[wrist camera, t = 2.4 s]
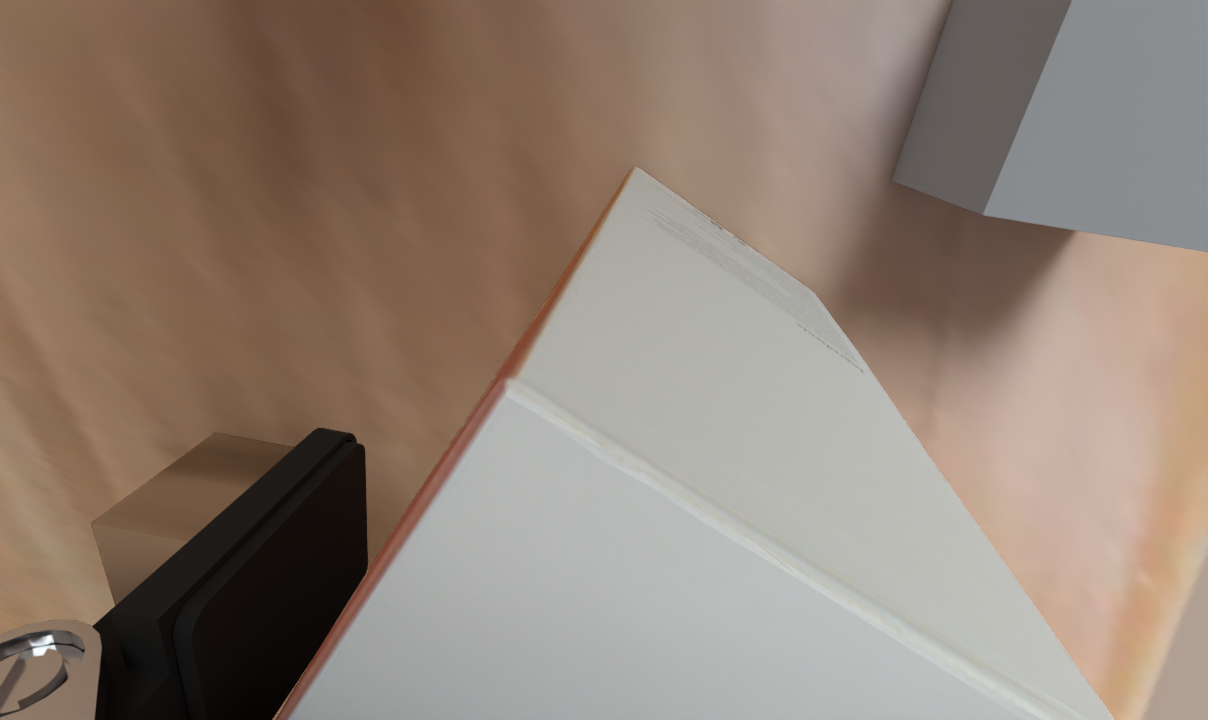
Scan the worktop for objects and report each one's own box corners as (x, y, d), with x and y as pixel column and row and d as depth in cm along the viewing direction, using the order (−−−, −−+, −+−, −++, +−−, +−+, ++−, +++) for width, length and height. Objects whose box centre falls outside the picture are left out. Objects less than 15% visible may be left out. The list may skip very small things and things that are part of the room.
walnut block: (217, 431, 21) (90, 523, 16) (350, 456, 21) (260, 556, 16) (234, 537, 23) (126, 645, 19) (356, 561, 23) (277, 676, 18)
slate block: (968, -50, 13) (1126, -130, 8) (1197, -16, 13) (1484, -79, 8) (890, 180, 15) (982, 214, 11) (1086, 212, 15) (1265, 261, 10)
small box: (633, 159, 16) (501, 358, 4) (819, 290, 16) (1194, 787, 5) (492, 380, 19) (182, 860, 7) (654, 479, 20) (623, 1056, 8)
